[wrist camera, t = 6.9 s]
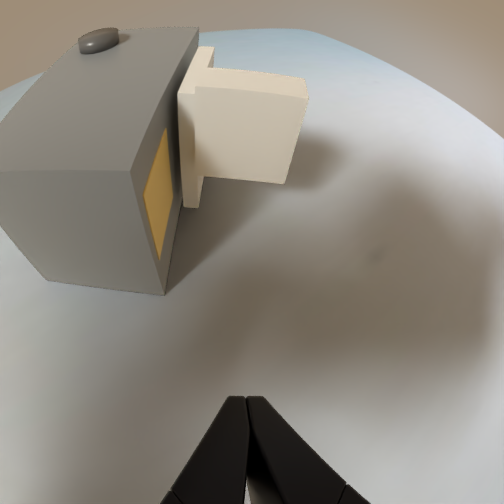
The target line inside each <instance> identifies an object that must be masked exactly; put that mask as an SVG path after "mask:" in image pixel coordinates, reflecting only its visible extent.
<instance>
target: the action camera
mask: <svg viewBox="0 0 504 504" xmlns="http://www.w3.org/2000/svg"><path fill="white" fill-rule="evenodd" d="M198 41H199V27H162V28H161V27H160V28H140V29H126V30H118V29H117V28H103V29H99V30H95V31H92V32H89V33H87V34H85V35H83V36H82V37H80V38H79V39H78V42H77V43H76V44H75V45H74V46H73V47H72V48H70V49H69V50H68V51H67V52H66V53H65V54H64V55H63V56H62V57H61V58H60V59H58V60H57V61H56V62H55V63H54V64H53V65H52V66H51V67H50V68H49V69H48V70H47V71H46V72H45V73H44V74H43V75H42V76H41V77H40V78H39V79H38V80H37V81H36V82H35V83H34V84H33V85H32V86H31V87H30V89H29V90H28V91H27V92H26V93H25V94H24V95H23V96H22V97H21V99H20V100H19V101H18V102H17V103H16V104H15V105H14V107H13V108H12V109H11V110H10V111H9V113H8V114H7V115H6V116H5V118H4V119H3V120H2V121H1V123H0V226H1V227H2V229H3V230H4V231H5V232H6V234H7V235H8V236H9V238H10V239H11V240H12V241H13V242H14V244H15V245H16V246H17V247H18V249H19V250H20V251H21V252H22V253H23V255H24V256H25V257H26V258H27V259H28V260H29V262H30V263H31V264H32V265H33V266H34V267H35V268H36V270H37V271H38V272H39V273H40V274H41V275H42V276H43V277H44V278H45V279H46V280H48V281H55V282H62V283H68V284H75V285H82V286H90V287H97V288H105V289H113V290H121V291H129V292H138V293H147V294H156V295H165V290H166V284H167V277H168V271H169V265H170V260H171V254H172V248H173V243H174V237H175V232H176V227H177V222H178V217H179V212H180V207H181V202H182V197H183V192H182V179H181V163H180V146H179V125H178V96H177V93H178V91H179V88H180V86H181V84H182V81H183V79H184V77H185V75H186V73H187V70H188V68H189V66H190V64H191V62H192V60H193V57H194V55H195V53H196V51H197V49H198Z"/></svg>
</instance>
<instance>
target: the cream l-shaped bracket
mask: <svg viewBox="0 0 504 504" xmlns="http://www.w3.org/2000/svg"><path fill="white" fill-rule="evenodd" d="M214 50H215V47H203V46H199V47H198V49H197V51H196V53H195V55H194V57H193V60H192V62H191V64H190V66H189V68H188V70H187V73H186V75H185V77H184V79H183V81H182V84H181V86H180V88H179V91H178V93H177V96H178V125H179V146H180V163H181V179H182V192H183V205H184V207H189V208H199V202H200V196H201V190H202V185H203V179H204V176H205V177H217V178H229V179H239V180H249V181H259V182H268V183H277V184H285V180H286V177H287V174H288V170H289V167H290V163H291V160H292V157H293V153H294V150H295V146H296V143H297V139H298V136H299V132H300V129H301V126H302V122H303V119H304V115H305V112H306V108H307V105H308V101H309V96H308V92H307V88H306V83H305V79H303V78H298V77H292V76H285V75H279V74H271V73H264V72H256V71H247V70H236V69H224V68H213V64H214Z"/></svg>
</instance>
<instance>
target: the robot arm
mask: <svg viewBox="0 0 504 504" xmlns="http://www.w3.org/2000/svg"><path fill="white" fill-rule="evenodd" d="M246 480H247V486H248V491H249V496H250V501H251V504H371V503H369V502H368V501H367V500H366V499H365V498H363V497H362V496H361V495H360V494H359V493H358V492H357V491H356V490H354V489H353V488H352V487H351V486H350V485H349V484H347V485H346V481H345V480H344V479H343V478H341V477H340V476H339V475H338V474H337V473H336V472H335V471H334V470H333V469H332V468H331V467H330V466H329V465H328V464H327V463H326V462H325V461H324V460H323V459H322V458H321V457H320V456H319V455H318V454H317V453H316V452H315V451H314V450H313V449H312V448H311V447H310V446H309V445H308V444H307V443H306V442H305V441H304V440H303V439H302V438H301V437H300V436H299V435H298V434H297V432H296V431H295V430H294V429H293V428H292V427H291V426H290V425H289V424H288V423H287V422H286V421H285V420H284V419H283V418H282V416H281V415H280V414H279V413H278V412H277V411H276V410H275V409H274V408H273V407H272V405H271V404H270V403H269V402H268V401H267V400H266V399H265V398H264V397H263V396H248V397H246V398H245V397H244V396H228V397H227V399H226V400H225V402H224V404H223V405H222V407H221V409H220V410H219V412H218V414H217V415H216V417H215V419H214V420H213V422H212V424H211V425H210V427H209V429H208V430H207V432H206V433H205V435H204V437H203V438H202V440H201V442H200V443H199V445H198V446H197V448H196V450H195V451H194V453H193V454H192V456H191V457H190V459H189V461H188V462H187V464H186V465H185V467H184V468H183V470H182V472H181V473H180V475H179V476H178V478H177V479H176V481H175V482H174V484H173V485H172V487H171V491H168V493H167V494H166V496H165V497H164V499H163V500H162V502H161V503H160V504H244V499H245V489H246Z"/></svg>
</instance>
